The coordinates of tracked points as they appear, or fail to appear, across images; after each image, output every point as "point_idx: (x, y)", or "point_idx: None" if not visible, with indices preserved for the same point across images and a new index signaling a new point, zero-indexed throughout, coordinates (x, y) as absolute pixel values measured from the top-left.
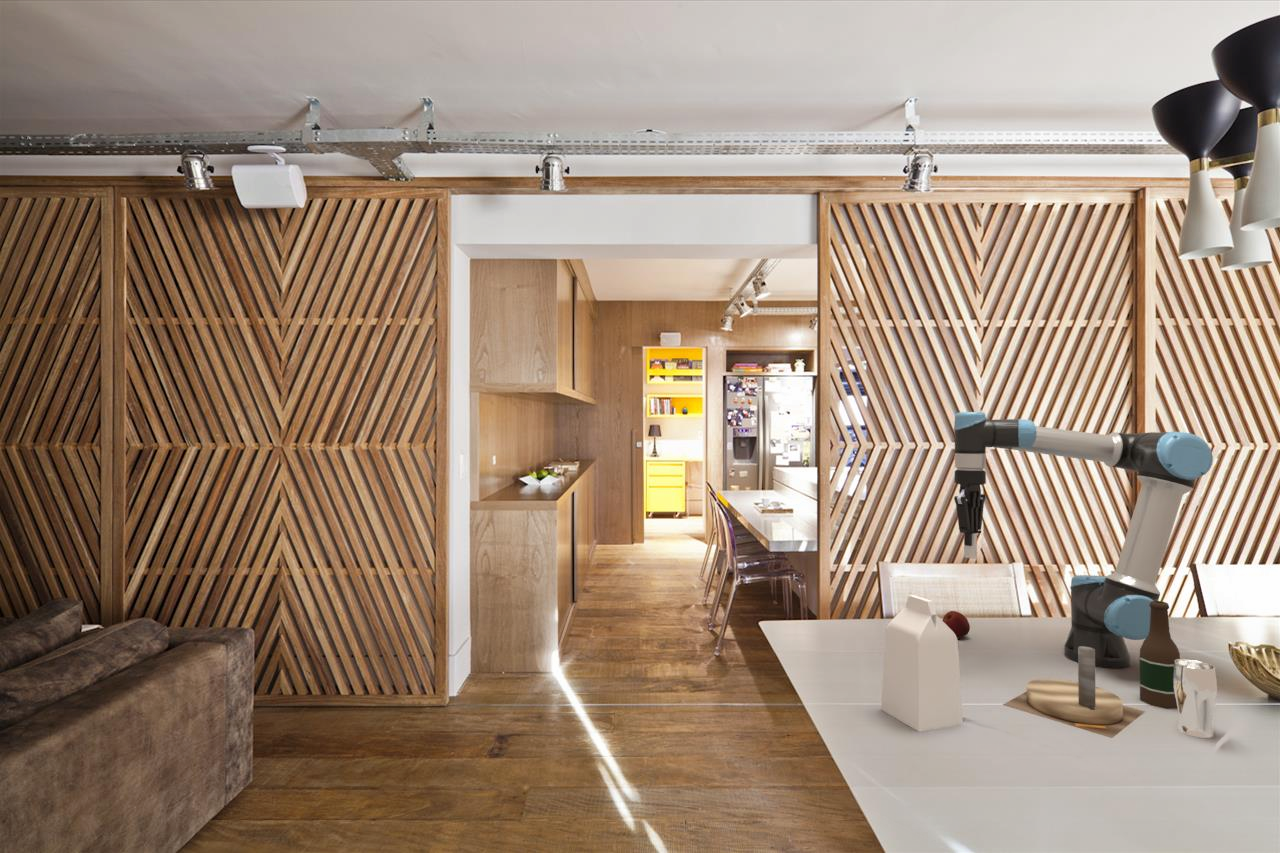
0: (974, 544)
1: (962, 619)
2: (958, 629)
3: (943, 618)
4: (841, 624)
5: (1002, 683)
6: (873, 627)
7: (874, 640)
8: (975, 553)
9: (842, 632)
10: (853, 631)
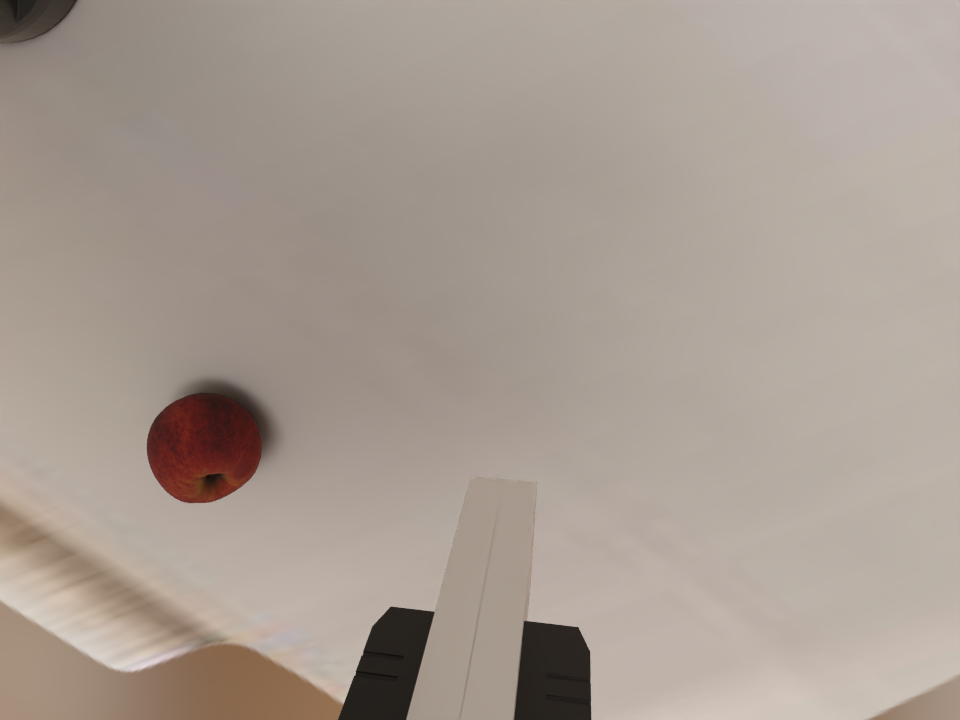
0: (516, 608)
1: (196, 434)
2: (240, 420)
3: (223, 496)
4: None
5: (650, 59)
6: None
7: None
8: (500, 516)
9: None
10: None
